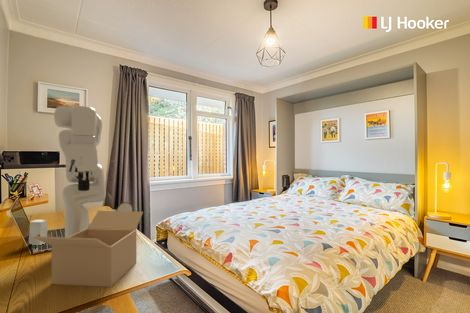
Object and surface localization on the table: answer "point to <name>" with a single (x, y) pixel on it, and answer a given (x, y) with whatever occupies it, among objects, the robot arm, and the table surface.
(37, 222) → the skincare box
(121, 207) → the magnifying glass
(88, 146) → the robot arm
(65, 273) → the carton
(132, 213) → the back flap
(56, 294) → the table surface
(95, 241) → the front flap
